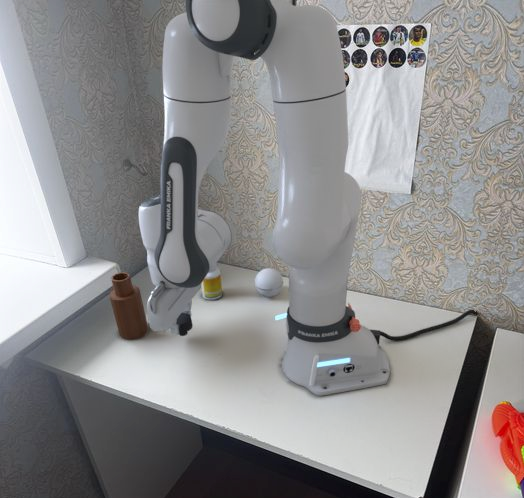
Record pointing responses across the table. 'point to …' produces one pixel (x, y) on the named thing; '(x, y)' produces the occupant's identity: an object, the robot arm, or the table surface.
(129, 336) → the bottle
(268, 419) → the table surface
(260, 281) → the white rounded piece
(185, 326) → the bung
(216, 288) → the supplement bottle
